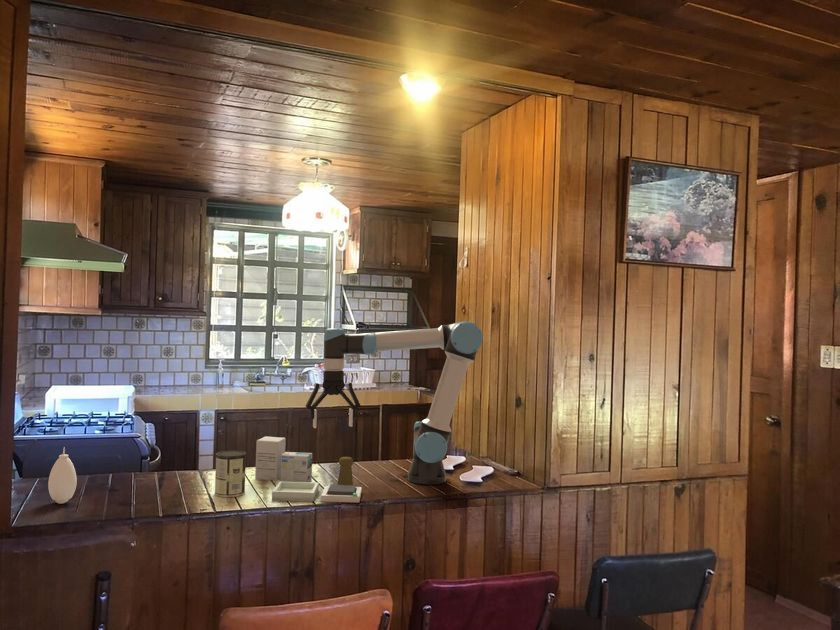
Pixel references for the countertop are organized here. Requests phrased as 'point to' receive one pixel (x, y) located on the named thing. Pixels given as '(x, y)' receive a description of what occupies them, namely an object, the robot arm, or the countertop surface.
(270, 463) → the supplement box
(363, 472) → the countertop surface
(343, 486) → the dark grey square slab
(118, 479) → the countertop surface
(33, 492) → the countertop surface
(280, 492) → the sorting tray
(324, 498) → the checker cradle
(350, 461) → the cork
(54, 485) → the bulb syringe
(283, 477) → the light bulb box
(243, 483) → the coffee can
